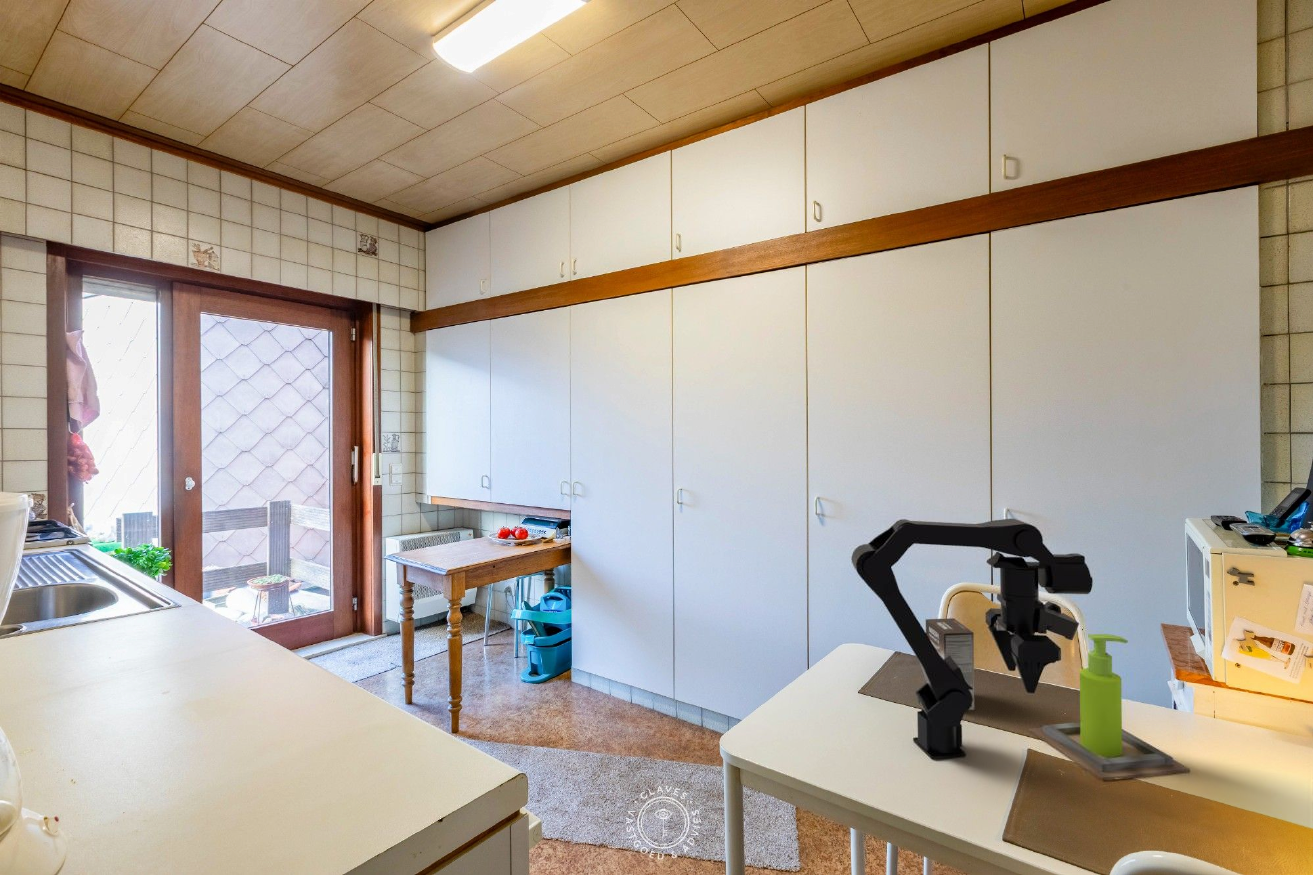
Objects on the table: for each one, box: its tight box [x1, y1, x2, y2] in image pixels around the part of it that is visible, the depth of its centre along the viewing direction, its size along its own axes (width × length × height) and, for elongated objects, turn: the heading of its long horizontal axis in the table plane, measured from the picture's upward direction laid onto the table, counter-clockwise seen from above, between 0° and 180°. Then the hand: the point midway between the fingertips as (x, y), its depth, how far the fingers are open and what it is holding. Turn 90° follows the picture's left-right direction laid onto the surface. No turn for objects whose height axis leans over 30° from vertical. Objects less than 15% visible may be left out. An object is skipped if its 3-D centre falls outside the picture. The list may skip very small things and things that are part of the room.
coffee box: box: [925, 617, 975, 711], centre depth 126 cm, size 9×6×16 cm
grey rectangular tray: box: [1028, 721, 1191, 781], centre depth 106 cm, size 16×16×2 cm
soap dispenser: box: [1079, 633, 1129, 757], centre depth 105 cm, size 6×7×20 cm
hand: (1020, 681), depth 105 cm, fingers open, 9 cm apart
